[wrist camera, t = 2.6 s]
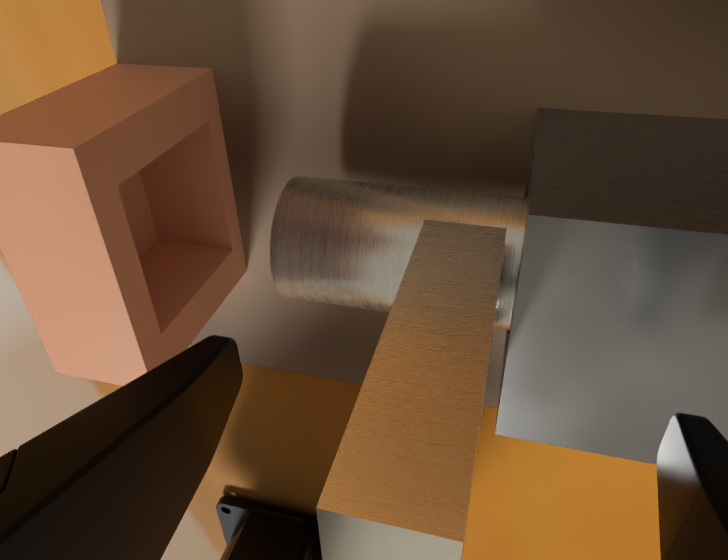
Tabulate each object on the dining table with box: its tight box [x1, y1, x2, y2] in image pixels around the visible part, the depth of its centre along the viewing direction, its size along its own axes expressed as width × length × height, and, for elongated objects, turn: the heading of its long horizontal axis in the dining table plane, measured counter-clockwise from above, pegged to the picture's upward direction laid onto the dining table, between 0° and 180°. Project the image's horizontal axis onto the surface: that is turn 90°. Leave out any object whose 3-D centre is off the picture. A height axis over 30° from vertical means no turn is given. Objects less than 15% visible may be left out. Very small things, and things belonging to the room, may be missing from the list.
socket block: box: [0, 64, 247, 386], centre depth 14 cm, size 6×3×5 cm, turn 1°
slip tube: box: [270, 176, 528, 560], centre depth 10 cm, size 12×3×9 cm, turn 92°
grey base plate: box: [101, 0, 728, 408], centre depth 15 cm, size 14×17×1 cm
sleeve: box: [495, 108, 728, 465], centre depth 11 cm, size 5×6×5 cm
